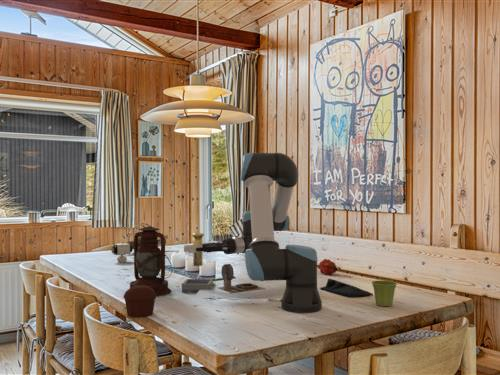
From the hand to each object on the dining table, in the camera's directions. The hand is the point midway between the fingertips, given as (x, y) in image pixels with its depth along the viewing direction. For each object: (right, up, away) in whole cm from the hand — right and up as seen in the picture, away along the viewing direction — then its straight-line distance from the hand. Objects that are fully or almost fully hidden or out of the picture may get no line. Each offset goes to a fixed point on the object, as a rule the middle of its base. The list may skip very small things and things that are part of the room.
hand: (186, 249), depth 214 cm
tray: (+5, -18, +2) cm, 19 cm away
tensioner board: (+24, -18, -2) cm, 30 cm away
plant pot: (+79, -18, -26) cm, 86 cm away
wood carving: (-44, -18, +127) cm, 136 cm away
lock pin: (+5, -7, +3) cm, 9 cm away
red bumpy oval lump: (+68, -18, +40) cm, 82 cm away
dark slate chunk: (+69, -19, -3) cm, 72 cm away
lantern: (-16, -18, -4) cm, 24 cm away
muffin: (-11, -18, -40) cm, 45 cm away
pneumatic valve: (-50, -18, +82) cm, 98 cm away
